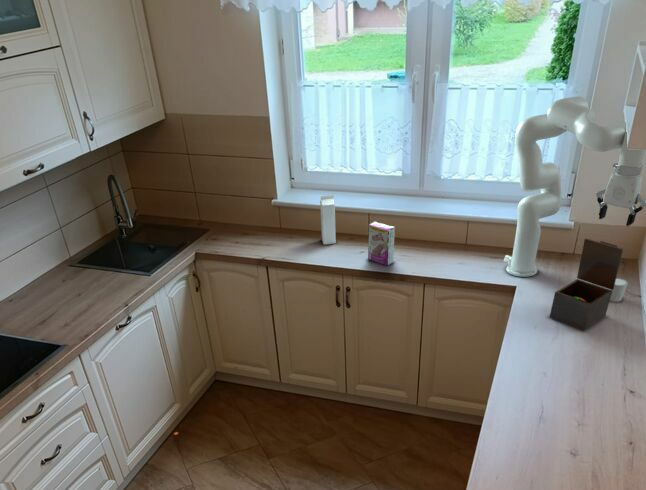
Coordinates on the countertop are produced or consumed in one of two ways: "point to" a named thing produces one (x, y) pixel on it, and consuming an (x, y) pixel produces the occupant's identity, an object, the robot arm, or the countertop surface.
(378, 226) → the candy bar box
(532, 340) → the countertop surface
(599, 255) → the lid
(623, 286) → the shot glass
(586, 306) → the chest
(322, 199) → the milk
